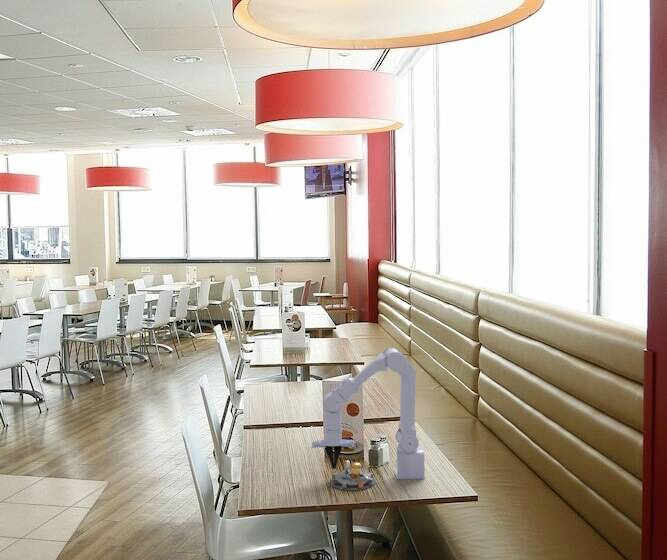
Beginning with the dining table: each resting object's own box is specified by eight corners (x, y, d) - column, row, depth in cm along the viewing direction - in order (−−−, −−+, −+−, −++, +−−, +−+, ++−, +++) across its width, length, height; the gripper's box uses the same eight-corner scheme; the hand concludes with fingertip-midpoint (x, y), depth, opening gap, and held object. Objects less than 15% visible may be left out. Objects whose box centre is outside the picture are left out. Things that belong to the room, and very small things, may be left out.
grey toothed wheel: (372, 472, 250) (372, 457, 250) (375, 487, 236) (374, 471, 236) (331, 473, 250) (331, 458, 250) (331, 488, 236) (331, 472, 236)
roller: (361, 477, 242) (361, 462, 242) (360, 480, 238) (360, 465, 238) (351, 477, 242) (351, 462, 242) (350, 480, 239) (350, 464, 239)
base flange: (373, 474, 251) (373, 472, 251) (376, 490, 236) (376, 488, 236) (330, 475, 251) (330, 473, 251) (330, 491, 236) (330, 489, 236)
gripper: (354, 424, 250) (354, 463, 251) (311, 425, 250) (312, 464, 251) (354, 430, 243) (355, 470, 244) (311, 431, 243) (312, 471, 244)
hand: (333, 467), depth 247 cm, fingers closed
